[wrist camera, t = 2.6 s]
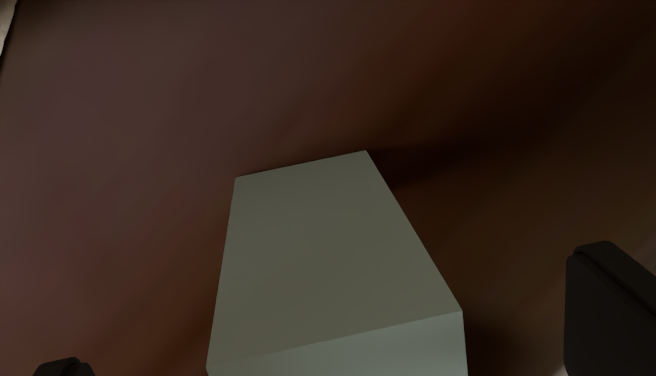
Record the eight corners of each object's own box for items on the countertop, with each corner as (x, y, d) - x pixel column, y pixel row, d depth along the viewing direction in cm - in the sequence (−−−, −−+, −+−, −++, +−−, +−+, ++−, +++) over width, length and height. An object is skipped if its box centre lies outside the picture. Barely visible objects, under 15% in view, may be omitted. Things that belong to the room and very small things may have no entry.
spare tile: (373, 197, 20) (469, 387, 10) (248, 224, 19) (232, 442, 10) (365, 150, 19) (462, 310, 10) (235, 177, 19) (205, 367, 9)
